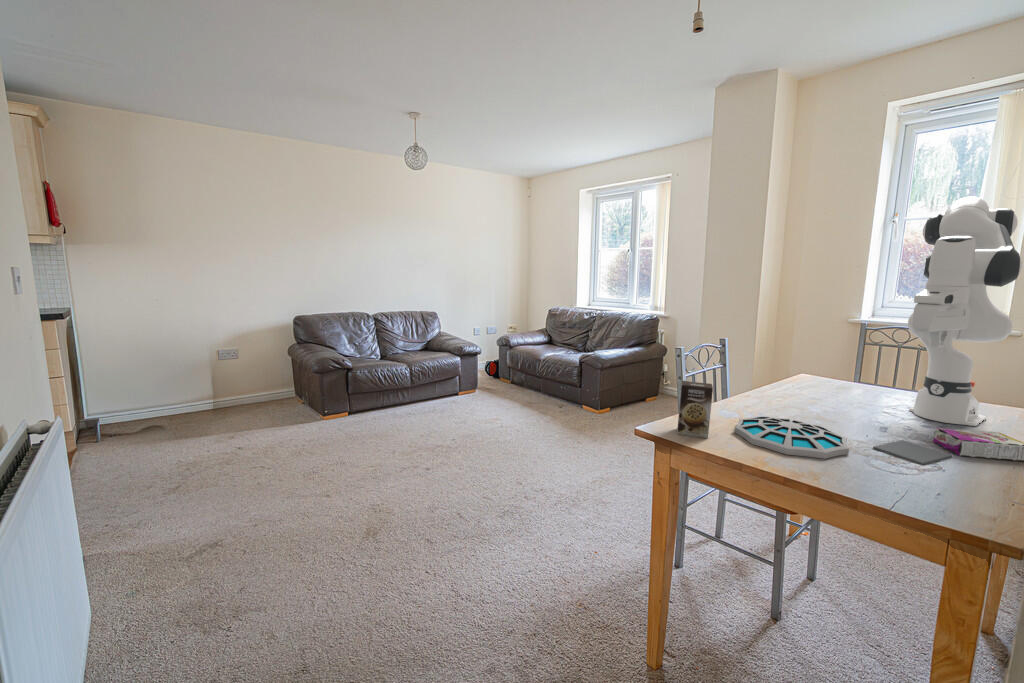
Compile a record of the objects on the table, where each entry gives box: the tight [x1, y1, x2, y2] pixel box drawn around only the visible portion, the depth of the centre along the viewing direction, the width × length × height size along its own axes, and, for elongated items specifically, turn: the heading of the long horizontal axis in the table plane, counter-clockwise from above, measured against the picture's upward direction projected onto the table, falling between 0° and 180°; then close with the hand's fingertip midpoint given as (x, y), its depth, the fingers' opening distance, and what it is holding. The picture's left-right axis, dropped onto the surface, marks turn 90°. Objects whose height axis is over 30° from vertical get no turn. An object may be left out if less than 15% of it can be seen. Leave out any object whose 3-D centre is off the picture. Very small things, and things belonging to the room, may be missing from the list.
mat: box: [872, 439, 953, 466], centre depth 129 cm, size 14×12×1 cm
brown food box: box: [676, 380, 714, 439], centre depth 141 cm, size 9×6×16 cm
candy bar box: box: [932, 427, 1024, 462], centre depth 130 cm, size 11×5×16 cm
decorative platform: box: [734, 415, 850, 460], centre depth 139 cm, size 31×29×5 cm
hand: (937, 346), depth 125 cm, fingers closed
